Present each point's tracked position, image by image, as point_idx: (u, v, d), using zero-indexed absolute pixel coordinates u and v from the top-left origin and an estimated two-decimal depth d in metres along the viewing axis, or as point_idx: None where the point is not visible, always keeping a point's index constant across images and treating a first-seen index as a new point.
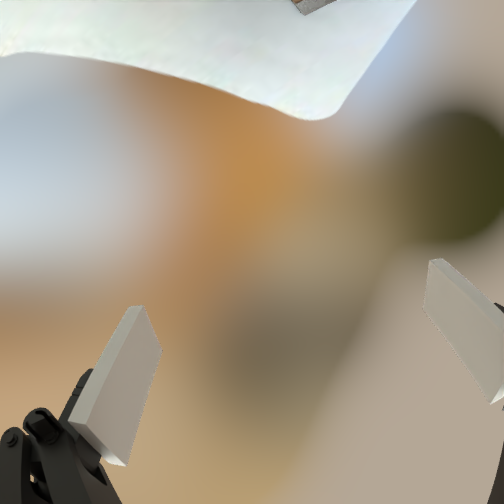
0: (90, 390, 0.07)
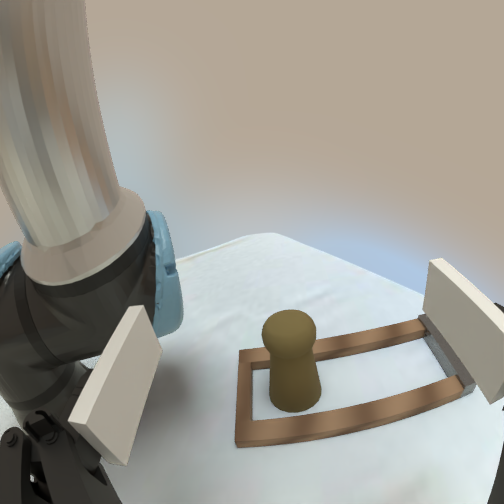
0: (90, 390, 0.07)
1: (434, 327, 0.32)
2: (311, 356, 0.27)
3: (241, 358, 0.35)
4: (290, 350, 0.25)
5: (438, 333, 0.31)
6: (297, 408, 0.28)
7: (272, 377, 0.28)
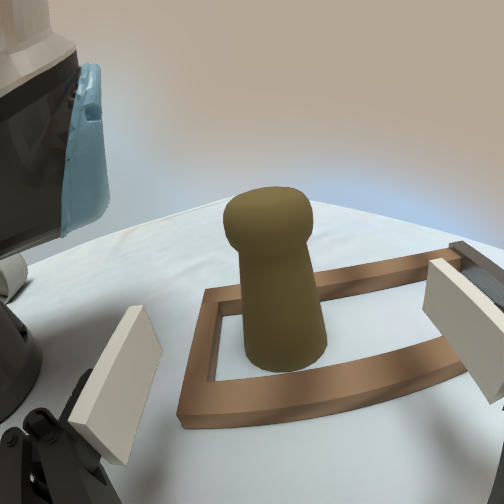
0: (90, 390, 0.07)
1: (473, 254, 0.22)
2: (308, 262, 0.17)
3: (206, 298, 0.25)
4: (268, 231, 0.14)
5: (481, 259, 0.21)
6: (289, 364, 0.18)
7: (245, 306, 0.18)
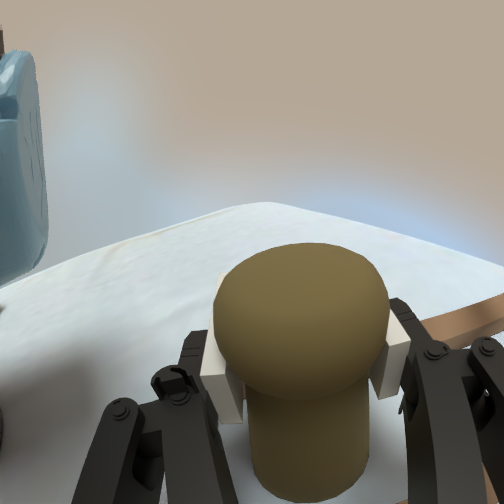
0: (215, 344, 0.09)
1: None
2: (366, 382, 0.08)
3: None
4: (311, 374, 0.06)
5: None
6: (317, 497, 0.09)
7: (254, 436, 0.10)
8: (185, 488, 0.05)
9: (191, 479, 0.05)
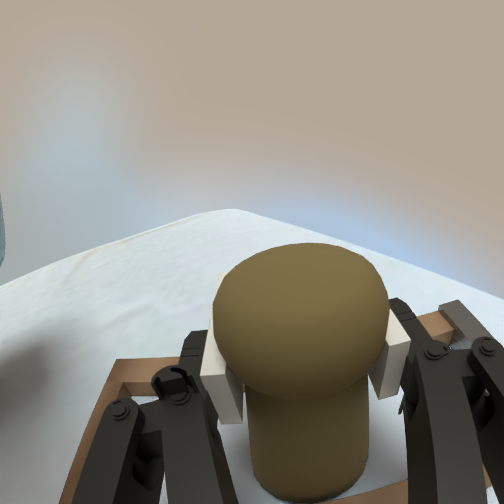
0: (215, 344, 0.09)
1: (471, 325, 0.15)
2: (366, 382, 0.08)
3: (113, 373, 0.18)
4: (311, 375, 0.06)
5: (480, 336, 0.14)
6: (316, 497, 0.09)
7: (253, 436, 0.10)
8: (185, 488, 0.05)
9: (191, 479, 0.05)
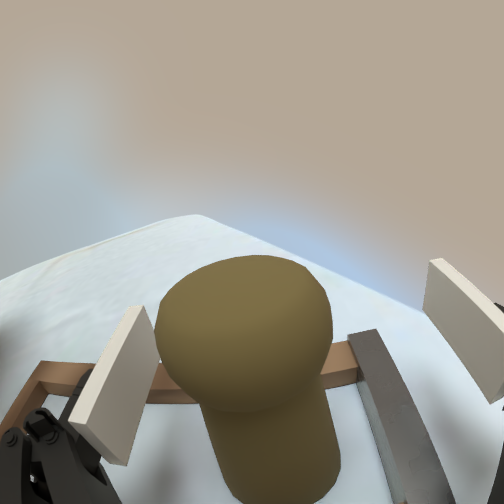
0: (90, 390, 0.07)
1: (379, 365, 0.15)
2: (318, 395, 0.08)
3: (34, 373, 0.18)
4: (236, 388, 0.06)
5: (385, 381, 0.13)
6: None
7: (213, 445, 0.10)
8: None
9: None
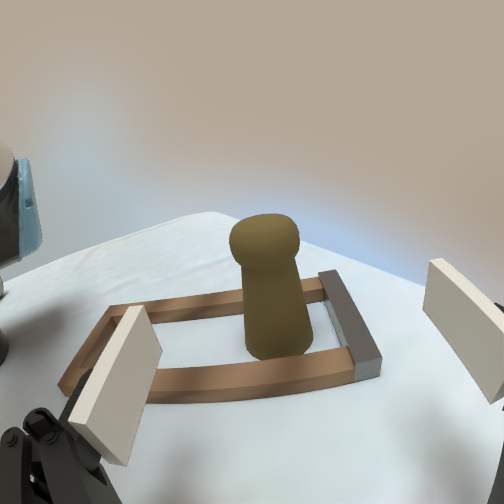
0: (90, 390, 0.07)
1: (334, 285, 0.28)
2: (295, 273, 0.22)
3: (106, 312, 0.31)
4: (265, 251, 0.19)
5: (337, 292, 0.27)
6: (282, 354, 0.22)
7: (246, 308, 0.23)
8: None
9: None
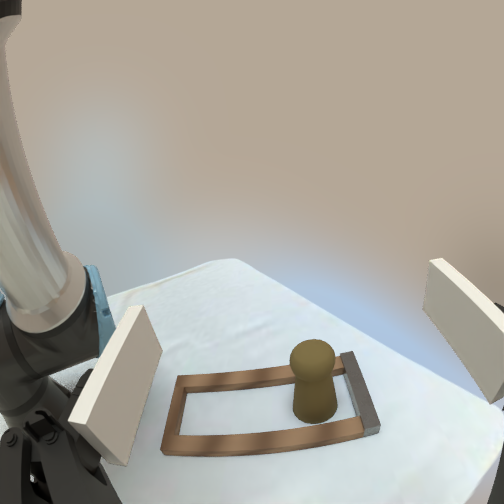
0: (90, 390, 0.07)
1: (352, 366, 0.37)
2: (331, 376, 0.31)
3: (177, 383, 0.40)
4: (316, 375, 0.28)
5: (354, 373, 0.36)
6: (319, 419, 0.32)
7: (297, 396, 0.32)
8: None
9: None
